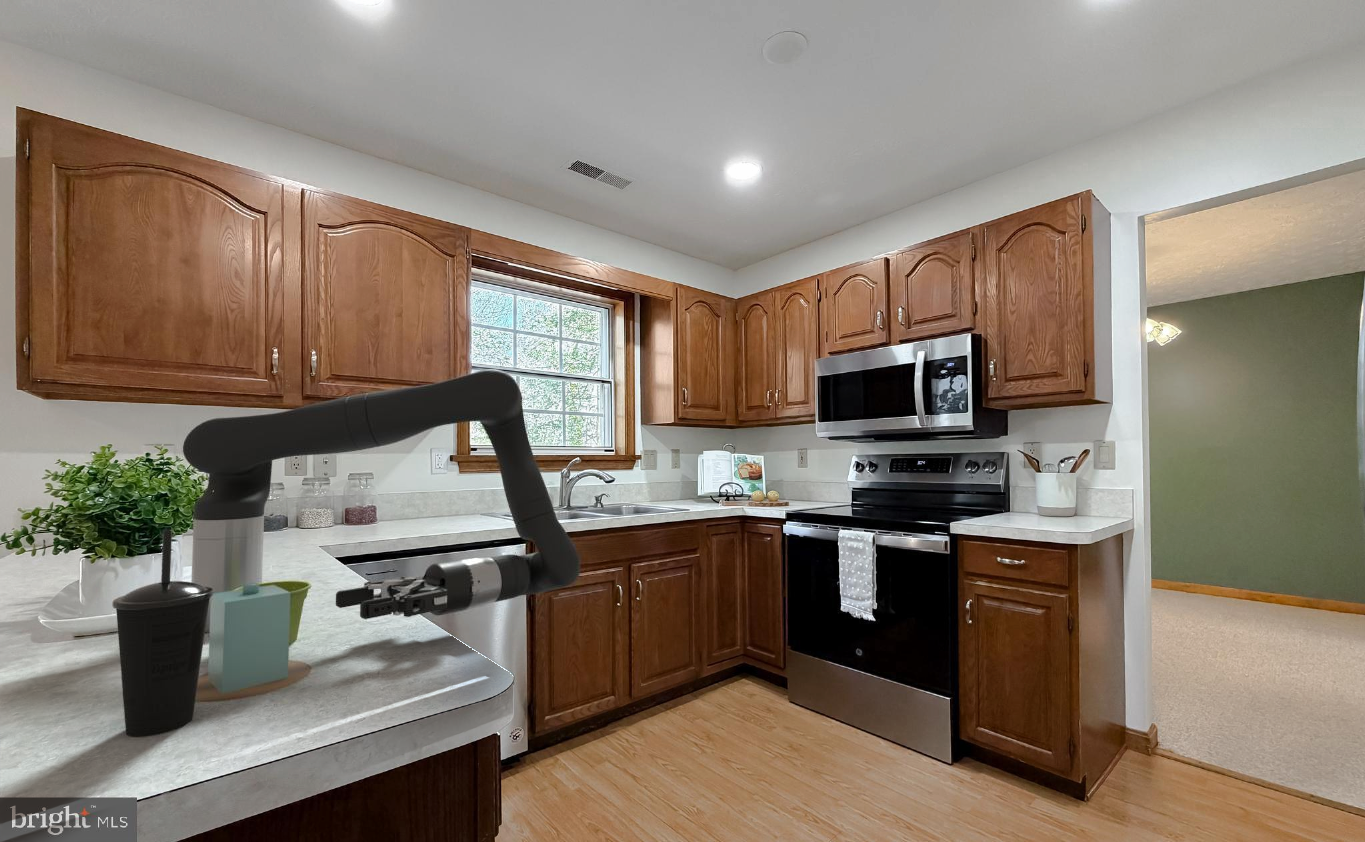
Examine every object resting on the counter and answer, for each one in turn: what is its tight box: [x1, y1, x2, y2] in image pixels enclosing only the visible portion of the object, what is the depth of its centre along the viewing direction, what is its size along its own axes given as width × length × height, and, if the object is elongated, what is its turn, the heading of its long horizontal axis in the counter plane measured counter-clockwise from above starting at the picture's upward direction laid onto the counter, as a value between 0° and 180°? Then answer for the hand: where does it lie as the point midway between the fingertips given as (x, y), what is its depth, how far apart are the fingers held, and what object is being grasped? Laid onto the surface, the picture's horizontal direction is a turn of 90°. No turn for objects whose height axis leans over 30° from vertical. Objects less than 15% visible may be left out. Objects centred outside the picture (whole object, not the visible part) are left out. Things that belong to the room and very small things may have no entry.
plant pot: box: [233, 580, 312, 645], centre depth 86 cm, size 9×9×9 cm
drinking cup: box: [111, 529, 214, 738], centre depth 60 cm, size 8×8×20 cm
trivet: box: [195, 659, 312, 703], centre depth 72 cm, size 13×13×1 cm
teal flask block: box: [207, 583, 290, 694], centre depth 72 cm, size 6×6×11 cm
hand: (348, 605), depth 80 cm, fingers open, 8 cm apart
